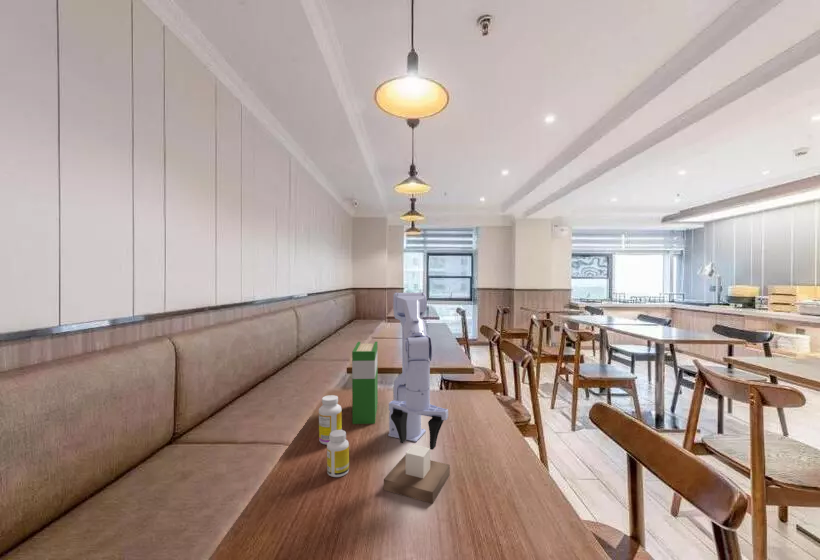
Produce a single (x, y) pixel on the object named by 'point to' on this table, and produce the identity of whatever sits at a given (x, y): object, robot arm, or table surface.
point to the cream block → (418, 461)
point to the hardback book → (364, 383)
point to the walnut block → (417, 481)
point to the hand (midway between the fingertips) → (417, 444)
